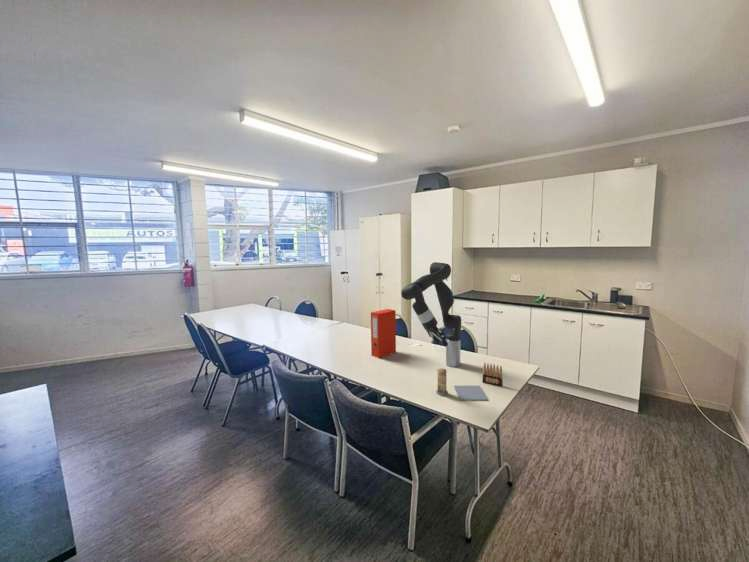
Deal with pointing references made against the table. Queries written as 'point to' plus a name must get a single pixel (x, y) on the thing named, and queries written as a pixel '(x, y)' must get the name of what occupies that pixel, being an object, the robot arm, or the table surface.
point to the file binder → (383, 332)
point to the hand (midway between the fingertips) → (442, 344)
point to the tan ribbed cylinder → (442, 382)
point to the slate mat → (470, 393)
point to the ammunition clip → (492, 375)
